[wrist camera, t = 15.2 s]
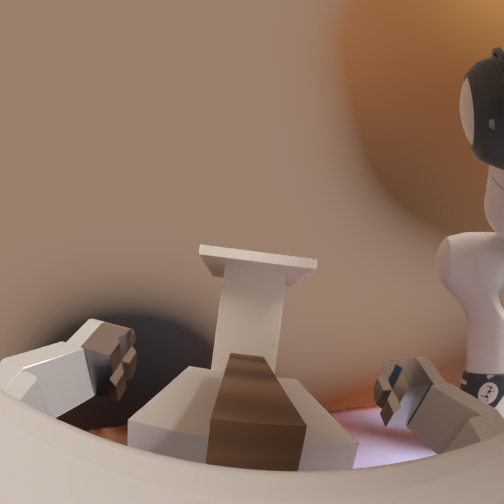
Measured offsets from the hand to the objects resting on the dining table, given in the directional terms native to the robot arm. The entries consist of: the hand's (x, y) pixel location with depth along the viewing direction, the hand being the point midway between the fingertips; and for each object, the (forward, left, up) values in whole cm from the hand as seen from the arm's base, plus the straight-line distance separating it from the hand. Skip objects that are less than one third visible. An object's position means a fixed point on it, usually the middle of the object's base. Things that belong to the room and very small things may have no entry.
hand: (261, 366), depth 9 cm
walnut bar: (-6, -7, -5) cm, 10 cm away
